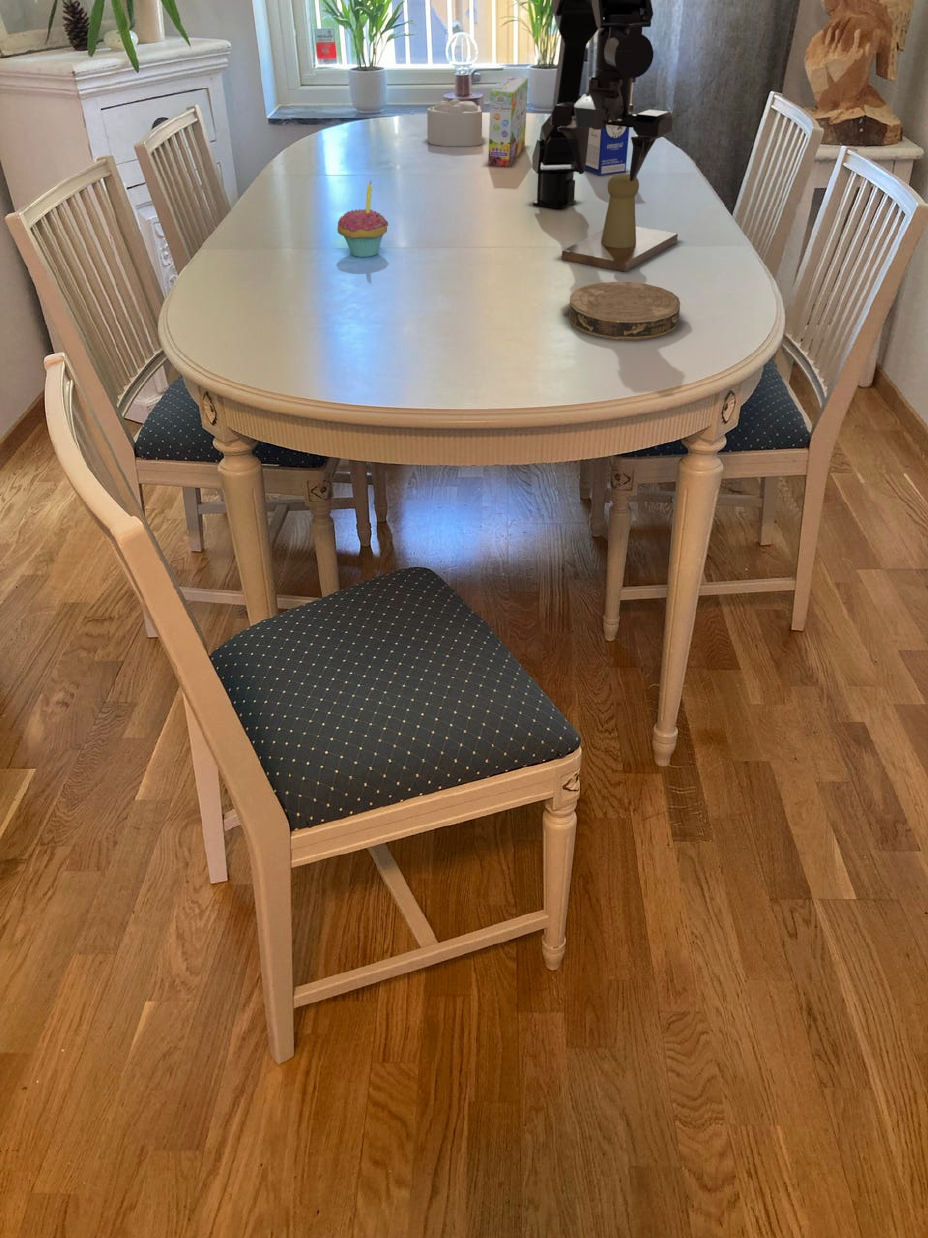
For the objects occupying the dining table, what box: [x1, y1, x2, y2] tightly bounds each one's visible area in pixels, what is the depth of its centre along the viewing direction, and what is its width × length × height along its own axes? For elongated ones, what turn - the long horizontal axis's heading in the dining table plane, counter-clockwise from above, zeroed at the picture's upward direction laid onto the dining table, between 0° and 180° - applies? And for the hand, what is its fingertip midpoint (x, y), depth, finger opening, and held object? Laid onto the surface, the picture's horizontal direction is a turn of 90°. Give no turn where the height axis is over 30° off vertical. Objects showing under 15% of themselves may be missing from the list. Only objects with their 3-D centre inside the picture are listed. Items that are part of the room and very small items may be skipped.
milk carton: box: [584, 75, 634, 176], centre depth 221 cm, size 7×7×20 cm
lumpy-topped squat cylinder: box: [426, 98, 483, 147], centre depth 248 cm, size 10×13×9 cm
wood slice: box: [568, 281, 681, 341], centre depth 151 cm, size 16×16×3 cm
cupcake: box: [336, 180, 389, 258], centre depth 175 cm, size 9×8×12 cm
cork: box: [601, 173, 640, 248], centre depth 175 cm, size 6×6×11 cm
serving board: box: [561, 225, 679, 273], centre depth 179 cm, size 12×20×2 cm, turn 146°
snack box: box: [487, 76, 529, 167], centre depth 234 cm, size 21×6×15 cm, turn 168°
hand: (606, 177), depth 167 cm, fingers open, 9 cm apart
